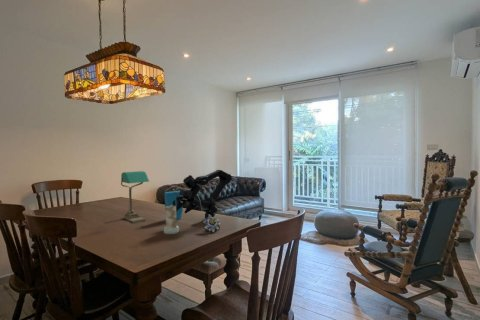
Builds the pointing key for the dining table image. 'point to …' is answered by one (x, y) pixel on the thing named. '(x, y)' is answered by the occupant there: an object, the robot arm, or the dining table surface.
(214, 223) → the passion flower
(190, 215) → the dining table surface
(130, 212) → the banker's lamp
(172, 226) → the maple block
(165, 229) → the plinth
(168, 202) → the block
